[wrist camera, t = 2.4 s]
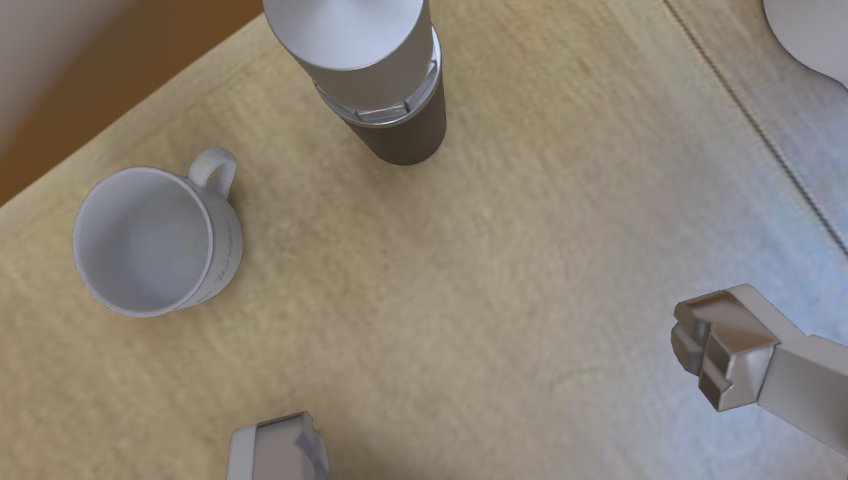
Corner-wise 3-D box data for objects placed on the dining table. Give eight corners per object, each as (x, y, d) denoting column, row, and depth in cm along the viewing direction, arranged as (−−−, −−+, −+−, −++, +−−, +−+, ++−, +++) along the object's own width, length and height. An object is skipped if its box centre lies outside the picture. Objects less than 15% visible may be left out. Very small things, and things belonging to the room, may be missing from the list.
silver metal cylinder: (423, -13, 28) (410, -113, 20) (444, 106, 28) (439, 53, 20) (306, 11, 28) (248, -79, 20) (326, 128, 28) (275, 84, 20)
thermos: (439, 74, 44) (427, -34, 27) (453, 157, 44) (451, 104, 27) (355, 89, 44) (291, -6, 27) (370, 173, 44) (314, 130, 27)
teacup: (188, 330, 45) (131, 349, 37) (109, 234, 46) (35, 232, 38) (309, 224, 45) (277, 220, 37) (228, 127, 45) (179, 103, 37)
